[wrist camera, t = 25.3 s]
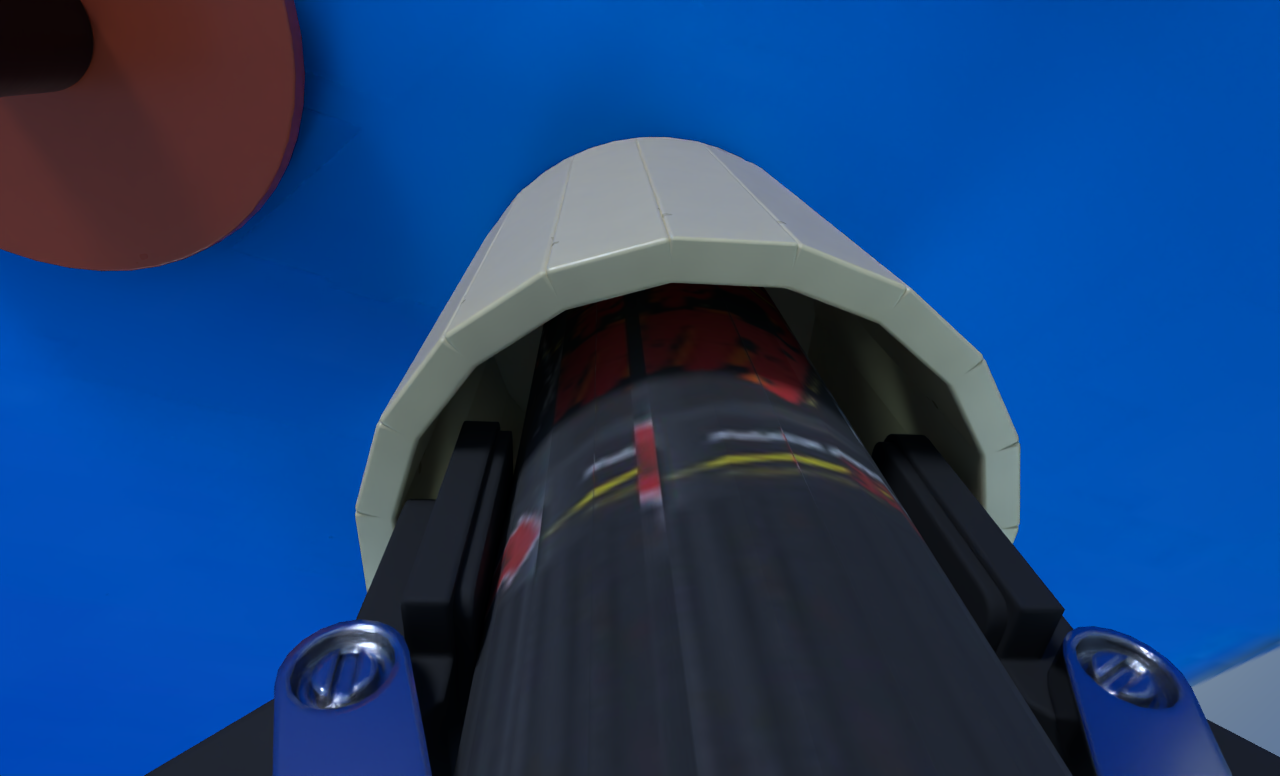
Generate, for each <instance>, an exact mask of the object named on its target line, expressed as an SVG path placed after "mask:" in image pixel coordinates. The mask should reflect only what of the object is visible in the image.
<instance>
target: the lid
mask: <svg viewBox="0 0 1280 776" xmlns="http://www.w3.org/2000/svg"><path fill="white" fill-rule="evenodd" d="M304 79H305V71H304V59H303V47H302V37H301V32H300V27H299V22H298V17H297V12H296V8H295V3H294V0H0V249H2V250H5V251H8V252H11V253H14V254H17V255H20V256H23V257H27V258H30V259H33V260H36V261H40V262H45V263H50V264H54V265H59V266H64V267H68V268H77V269H87V270H97V271H127V270H138V269H144V268H151V267H158V266H162V265H165V264H169V263H172V262H176V261H179V260H182V259H186V258H188V257H190V256H192V255H194V254H196V253H199V252H201V251H203V250H205V249H207V248H209V247H211V246H213V245H215V244H217V243H219V242H221V241H222V240H223V239H225V238H226V237H228V236H229V235H231V234H232V233H234V232H235V231H237V230H238V229H240V228H241V227H242V226H243V225H244V224H245V223H246V222H247V221H248V220H250V219H251V218H252V217H253V216H254V215H255V214H256V213H257V212H258V211H259V210H260V209H261V208H262V206H263V205H264V204H265V202H266V201H267V200H268V198H269V197H270V196H271V194H272V193H273V192H274V190H275V189H276V187H277V185H278V183H279V181H280V180H281V178H282V176H283V174H284V172H285V170H286V168H287V166H288V164H289V161H290V158H291V155H292V152H293V149H294V147H295V144H296V141H297V138H298V133H299V128H300V122H301V116H302V111H303V103H304Z"/></svg>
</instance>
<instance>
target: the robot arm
mask: <svg viewBox="0 0 1280 776" xmlns="http://www.w3.org/2000/svg"><path fill="white" fill-rule="evenodd" d="M871 457H872V459H873V460H874V462H875V464H876V465H877V467H878V468H879V470H880V472H881V473H882V475H883V476H884V478H885V479H886V481H887V483H888V484H889V486H890V487H891V489H892V491H893V492H894V494H895V495H896V497H897V498H898V500H899V502H900V503H901V505H902V506H903V508H904V510H905V511H906V513H907V514H908V516H909V517H910V519H911V521H912V522H913V524H914V525H915V527H916V529H917V530H918V532H919V533H920V535H921V536H922V538H923V540H924V541H925V543H926V544H927V546H928V548H929V549H930V551H931V552H932V554H933V555H934V557H935V559H936V560H937V562H938V563H939V565H940V567H941V568H942V570H943V571H944V573H945V574H946V576H947V578H948V579H949V581H950V582H951V584H952V586H953V587H954V589H955V590H956V592H957V593H958V595H959V597H960V598H961V600H962V601H963V603H964V605H965V606H966V608H967V609H968V611H969V612H970V614H971V616H972V617H973V619H974V620H975V622H976V624H977V625H978V627H979V628H980V630H981V631H982V633H983V635H984V636H985V638H986V639H987V641H988V643H989V644H990V646H991V647H992V649H993V650H994V652H995V654H996V655H997V657H998V658H999V660H1000V662H1001V663H1002V665H1003V666H1004V668H1005V669H1006V671H1007V673H1008V674H1009V676H1010V677H1011V679H1012V681H1013V682H1014V684H1015V685H1016V687H1017V688H1018V690H1019V692H1020V693H1021V695H1022V696H1023V698H1024V700H1025V701H1026V703H1027V704H1028V706H1029V707H1030V709H1031V711H1032V712H1033V714H1034V715H1035V717H1036V719H1037V720H1038V722H1039V723H1040V725H1041V726H1042V728H1043V730H1044V731H1045V733H1046V734H1047V736H1048V738H1049V739H1050V741H1051V742H1052V744H1053V745H1054V747H1055V749H1056V750H1057V752H1058V753H1059V755H1060V757H1061V758H1062V760H1063V761H1064V763H1065V764H1066V766H1067V768H1068V769H1069V771H1070V772H1071V774H1072V776H1280V757H1278V756H1276V755H1275V754H1273V753H1271V752H1268V751H1267V750H1265V749H1263V748H1261V747H1259V746H1257V745H1255V744H1253V743H1252V742H1250V741H1248V740H1246V739H1244V738H1242V737H1240V736H1238V735H1236V734H1234V733H1232V732H1230V731H1228V730H1227V729H1224V728H1223V727H1220V726H1219V725H1217V724H1215V723H1213V722H1211V721H1209V720H1207V719H1206V718H1205V716H1204V713H1203V711H1202V709H1201V707H1200V705H1199V703H1198V700H1197V698H1196V696H1195V694H1194V692H1193V690H1192V688H1191V686H1190V685H1189V683H1188V682H1187V680H1186V679H1185V677H1184V676H1183V674H1182V673H1181V672H1180V671H1179V670H1178V669H1177V668H1176V667H1175V666H1174V665H1173V664H1172V663H1171V662H1170V661H1169V660H1168V659H1167V658H1166V657H1164V656H1163V655H1161V654H1160V653H1159V652H1157V651H1156V650H1154V649H1153V648H1152V647H1150V646H1148V645H1147V644H1145V643H1143V642H1141V641H1139V640H1137V639H1135V638H1133V637H1131V636H1129V635H1126V634H1123V633H1120V632H1117V631H1114V630H1112V629H1106V628H1100V627H1094V626H1091V627H1078V628H1076V629H1074V630H1073V628H1072V627H1071V626H1070V625H1069V623H1068V622H1067V621H1066V620H1065V618H1064V617H1063V616H1062V614H1063V612H1064V610H1065V609H1064V608H1063V607H1062V605H1061V604H1060V603H1059V602H1058V600H1057V599H1056V598H1055V597H1054V595H1053V594H1052V593H1051V592H1050V590H1049V589H1048V588H1047V587H1046V585H1045V584H1044V583H1043V582H1042V580H1041V579H1040V578H1039V577H1038V575H1037V574H1036V573H1035V572H1034V570H1033V569H1032V568H1031V567H1030V565H1029V564H1028V563H1027V562H1026V560H1025V559H1024V558H1023V557H1022V555H1021V554H1020V553H1019V552H1018V550H1017V549H1016V548H1015V547H1014V545H1013V544H1012V543H1011V542H1010V540H1009V539H1008V538H1007V536H1006V535H1005V534H1004V533H1003V531H1002V530H1001V529H1000V528H999V526H998V525H997V524H996V523H995V521H994V520H993V519H992V518H991V516H990V515H989V514H988V513H987V511H986V510H985V509H984V508H983V506H982V505H981V504H980V503H979V501H978V500H977V499H976V498H975V496H974V495H973V494H972V493H971V491H970V490H969V489H968V488H967V486H966V485H965V484H964V483H963V481H962V480H961V479H960V478H959V476H958V475H957V474H956V473H955V471H954V470H953V469H952V468H951V466H950V465H949V464H948V463H947V461H946V460H945V459H944V458H943V456H942V455H941V454H940V453H939V451H938V450H937V449H936V448H935V446H934V445H933V444H932V443H931V441H930V440H929V439H928V438H927V437H926V436H925V435H915V434H889V435H888V436H887V437H886V438H885V440H884V442H878V443H876V445H875V446H874V449H873V452H872V456H871ZM512 480H513V439H512V431H500V424H499V422H490V421H464V423H463V425H462V428H461V431H460V433H459V436H458V439H457V442H456V445H455V448H454V450H453V453H452V456H451V459H450V462H449V465H448V467H447V470H446V473H445V476H444V479H443V481H442V484H441V487H440V490H439V493H438V496H437V498H436V499H409V500H407V501H406V503H405V505H404V506H403V508H402V511H401V513H400V516H399V518H398V520H397V523H396V525H395V528H394V530H393V532H392V535H391V537H390V540H389V542H388V544H387V547H386V549H385V552H384V554H383V556H382V559H381V561H380V564H379V566H378V568H377V571H376V573H375V576H374V578H373V580H372V583H371V585H370V587H369V590H368V592H367V595H366V597H365V599H364V602H363V604H362V607H361V609H360V611H359V614H358V616H357V619H356V620H352V621H345V622H340V623H337V624H334V625H331V626H328V627H326V628H323V629H320V630H319V631H317V632H315V633H314V634H312V635H310V636H309V637H307V638H305V639H304V640H302V641H301V642H300V643H299V644H298V645H297V646H296V647H295V648H294V649H293V650H292V651H291V652H290V653H289V654H288V655H287V657H286V658H285V660H284V661H283V663H282V664H281V666H280V668H279V669H278V673H277V677H276V682H275V687H274V699H273V700H271V701H269V702H268V703H266V704H264V705H263V706H261V707H259V708H257V709H256V710H254V711H252V712H251V713H249V714H247V715H246V716H244V717H242V718H241V719H239V720H237V721H236V722H234V723H232V724H230V725H229V726H227V727H225V728H224V729H222V730H220V731H219V732H217V733H215V734H214V735H212V736H210V737H208V738H207V739H205V740H203V741H202V742H200V743H198V744H197V745H195V746H193V747H192V748H190V749H188V750H187V751H185V752H183V753H181V754H180V755H178V756H176V757H175V758H173V759H171V760H170V761H168V762H166V763H165V764H163V765H161V766H160V767H158V768H156V769H154V770H153V771H151V772H149V773H148V774H146V775H144V776H454V771H455V766H456V761H457V756H458V751H459V746H460V741H461V736H462V731H463V726H464V721H465V716H466V711H467V706H468V701H469V695H470V690H471V685H472V680H473V675H474V670H475V665H476V660H477V655H478V650H479V645H480V640H481V635H482V630H483V625H484V620H485V615H486V610H487V605H488V600H489V595H490V590H491V585H492V580H493V575H494V570H495V565H496V560H497V555H498V550H499V545H500V540H501V535H502V530H503V525H504V520H505V515H506V510H507V505H508V500H509V495H510V490H511V485H512Z"/></svg>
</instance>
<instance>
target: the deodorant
mask: <svg viewBox="0 0 1280 776" xmlns="http://www.w3.org/2000/svg"><path fill="white" fill-rule="evenodd" d="M454 776H1072V774H1071V772H1070V771H1069V769H1068V768H1067V766H1066V764H1065V763H1064V761H1063V760H1062V758H1061V757H1060V755H1059V753H1058V752H1057V750H1056V749H1055V747H1054V745H1053V744H1052V742H1051V741H1050V739H1049V738H1048V736H1047V734H1046V733H1045V731H1044V730H1043V728H1042V726H1041V725H1040V723H1039V722H1038V720H1037V719H1036V717H1035V715H1034V714H1033V712H1032V711H1031V709H1030V707H1029V706H1028V704H1027V703H1026V701H1025V700H1024V698H1023V696H1022V695H1021V693H1020V692H1019V690H1018V688H1017V687H1016V685H1015V684H1014V682H1013V681H1012V679H1011V677H1010V676H1009V674H1008V673H1007V671H1006V669H1005V668H1004V666H1003V665H1002V663H1001V662H1000V660H999V658H998V657H997V655H996V654H995V652H994V650H993V649H992V647H991V646H990V644H989V643H988V641H987V639H986V638H985V636H984V635H983V633H982V631H981V630H980V628H979V627H978V625H977V624H976V622H975V620H974V619H973V617H972V616H971V614H970V612H969V611H968V609H967V608H966V606H965V605H964V603H963V601H962V600H961V598H960V597H959V595H958V593H957V592H956V590H955V589H954V587H953V586H952V584H951V582H950V581H949V579H948V578H947V576H946V574H945V573H944V571H943V570H942V568H941V567H940V565H939V563H938V562H937V560H936V559H935V557H934V555H933V554H932V552H931V551H930V549H929V548H928V546H927V544H926V543H925V541H924V540H923V538H922V536H921V535H920V533H919V532H918V530H917V529H916V527H915V525H914V524H913V522H912V521H911V519H910V517H909V516H908V514H907V513H906V511H905V510H904V508H903V506H902V505H901V503H900V502H899V500H898V498H897V497H896V495H895V494H894V492H893V491H892V489H891V487H890V486H889V484H888V483H887V481H886V479H885V478H884V476H883V475H882V473H881V472H880V470H879V468H878V467H877V465H876V464H875V462H874V460H873V459H872V457H871V456H870V454H869V453H868V451H867V449H866V448H865V446H864V445H863V443H862V441H861V440H860V438H859V437H858V435H857V434H856V432H855V430H854V429H853V427H852V426H851V424H850V422H849V421H848V419H847V418H846V416H845V415H844V413H843V411H842V410H841V408H840V407H839V405H838V403H837V402H836V400H835V399H834V397H833V396H832V394H831V392H830V391H829V389H828V388H827V386H826V384H825V383H824V381H823V380H822V378H821V377H820V375H819V373H818V372H817V370H816V369H815V367H814V365H813V364H812V362H811V361H810V359H809V358H808V356H807V354H806V353H805V351H804V350H803V348H802V346H801V345H800V343H799V342H798V340H797V339H796V337H795V335H794V334H793V332H792V331H791V329H790V327H789V326H788V324H787V323H786V321H785V320H784V318H783V316H782V315H781V313H780V312H779V310H778V308H777V307H776V305H775V304H774V302H773V301H772V299H771V297H770V296H769V294H768V293H767V291H766V289H765V288H764V287H755V286H733V285H712V284H690V283H668V284H664V285H661V286H657V287H653V288H649V289H645V290H641V291H638V292H634V293H630V294H626V295H622V296H618V297H614V298H611V299H607V300H603V301H599V302H595V303H591V304H588V305H584V306H580V307H576V308H572V309H568V310H565V311H564V312H562V313H560V314H559V315H557V316H556V317H554V318H552V319H551V320H549V321H548V322H546V323H545V324H543V329H542V334H541V339H540V344H539V349H538V354H537V359H536V364H535V369H534V374H533V379H532V384H531V389H530V394H529V399H528V404H527V410H526V415H525V420H524V425H523V430H522V435H521V440H520V445H519V450H518V455H517V460H516V465H515V470H514V475H513V480H512V485H511V490H510V495H509V500H508V505H507V510H506V515H505V520H504V525H503V530H502V535H501V540H500V545H499V550H498V555H497V560H496V565H495V570H494V575H493V580H492V585H491V590H490V595H489V600H488V605H487V610H486V615H485V620H484V625H483V630H482V635H481V640H480V645H479V650H478V655H477V660H476V665H475V670H474V675H473V680H472V685H471V690H470V695H469V701H468V706H467V711H466V716H465V721H464V726H463V731H462V736H461V741H460V746H459V751H458V756H457V761H456V766H455V771H454Z"/></svg>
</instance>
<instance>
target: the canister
mask: <svg viewBox="0 0 1280 776" xmlns="http://www.w3.org/2000/svg"><path fill="white" fill-rule="evenodd" d="M668 283H690V284H712V285H733V286H755V287H764V288H765V289H766V291H767V293H768V294H769V296H770V297H771V299H772V301H773V302H774V304H775V305H776V307H777V308H778V310H779V312H780V313H781V315H782V316H783V318H784V320H785V321H786V323H787V324H788V326H789V327H790V329H791V331H792V332H793V334H794V335H795V337H796V339H797V340H798V342H799V343H800V345H801V346H802V348H803V350H804V351H805V353H806V354H807V356H808V358H809V359H810V361H811V362H812V364H813V365H814V367H815V369H816V370H817V372H818V373H819V375H820V377H821V378H822V380H823V381H824V383H825V384H826V386H827V388H828V389H829V391H830V392H831V394H832V396H833V397H834V399H835V400H836V402H837V403H838V405H839V407H840V408H841V410H842V411H843V413H844V415H845V416H846V418H847V419H848V421H849V422H850V424H851V426H852V427H853V429H854V430H855V432H856V434H857V435H858V437H859V438H860V440H861V441H862V443H863V445H864V446H865V448H866V449H867V451H868V453H869V454H870V456H872V452H873V449H874V446H875V445H876V443H878V442H884V440H885V438H886V437H887V436H888V435H889V434H915V435H925V436H926V437H927V438H928V439H929V440H930V441H931V443H932V444H933V445H934V446H935V448H936V449H937V450H938V451H939V453H940V454H941V455H942V456H943V458H944V459H945V460H946V461H947V463H948V464H949V465H950V466H951V468H952V469H953V470H954V471H955V473H956V474H957V475H958V476H959V478H960V479H961V480H962V481H963V483H964V484H965V485H966V486H967V488H968V489H969V490H970V491H971V493H972V494H973V495H974V496H975V498H976V499H977V500H978V501H979V503H980V504H981V505H982V506H983V508H984V509H985V510H986V511H987V513H988V514H989V515H990V516H991V518H992V519H993V520H994V521H995V523H996V524H997V525H998V526H999V528H1000V529H1001V530H1002V531H1003V533H1004V534H1005V535H1006V536H1007V538H1008V539H1009V540H1010V542H1011V543H1012V544H1013V542H1014V539H1015V537H1016V534H1017V532H1018V525H1019V523H1020V443H1019V442H1018V441H1019V438H1018V435H1017V432H1016V430H1015V428H1014V425H1013V423H1012V421H1011V418H1010V416H1009V414H1008V411H1007V409H1006V407H1005V404H1004V402H1003V400H1002V398H1001V395H1000V393H999V391H998V388H997V386H996V384H995V381H994V379H993V377H992V374H991V372H990V370H989V367H988V365H987V363H986V361H985V360H984V359H983V356H982V354H981V353H980V352H979V351H978V350H977V349H976V348H974V347H973V346H972V345H971V344H970V343H969V342H968V341H967V340H966V339H965V338H964V337H963V336H962V335H961V334H960V333H958V332H957V331H956V330H955V329H954V328H953V327H952V326H951V325H950V324H949V323H948V322H947V321H946V320H945V319H943V318H942V317H941V316H940V315H939V314H938V313H937V312H936V311H935V310H934V309H933V308H932V307H931V306H930V305H929V304H927V303H926V302H925V301H924V300H923V299H922V298H921V297H920V296H919V295H918V294H917V293H916V292H915V291H914V290H912V289H911V288H910V287H909V286H908V285H906V284H905V283H904V282H903V281H901V280H900V279H899V278H898V277H896V276H895V275H894V274H893V273H891V272H890V271H889V270H888V269H886V268H885V267H884V266H883V265H881V264H880V263H879V262H878V261H876V260H875V259H874V258H873V257H871V256H870V255H869V254H868V253H867V252H865V251H864V250H863V249H862V248H860V247H859V246H858V245H857V244H855V243H854V242H853V241H852V240H850V239H849V238H848V237H847V236H845V235H844V234H843V233H842V232H840V231H839V230H838V229H837V228H835V227H834V226H833V225H832V224H830V223H829V222H828V221H827V220H825V219H824V218H823V217H822V216H820V215H819V214H818V213H817V212H815V211H814V210H813V209H812V208H810V207H809V206H808V205H807V204H805V203H804V202H803V201H802V200H800V199H799V198H798V197H797V196H795V195H794V194H793V193H792V192H790V191H789V190H788V189H787V188H785V187H784V186H783V185H782V184H780V183H779V182H778V181H777V180H775V179H774V178H773V177H772V176H770V175H769V174H768V173H767V172H765V171H764V170H763V169H762V168H760V167H758V166H757V165H755V164H752V163H750V162H748V161H745V160H744V159H742V158H740V157H738V156H736V155H733V154H731V153H729V152H727V151H724V150H722V149H720V148H717V147H714V146H710V145H707V144H705V143H700V142H697V141H692V140H684V139H677V138H669V137H640V138H633V139H626V140H619V141H613V142H610V143H607V144H603V145H600V146H596V147H593V148H589V149H587V150H585V151H583V152H580V153H578V154H576V155H574V156H571V157H569V158H567V159H565V160H563V161H562V162H560V163H558V164H557V165H555V166H554V167H552V168H550V169H549V170H547V171H546V172H544V173H543V174H541V175H540V176H539V177H538V178H537V179H535V180H534V181H533V182H532V183H531V184H530V185H528V186H527V187H526V188H524V189H523V190H522V191H521V193H519V194H518V195H517V196H516V197H515V199H514V200H513V201H512V203H511V204H510V205H509V206H508V207H507V209H506V210H505V212H504V213H503V215H502V216H501V218H500V219H499V220H498V222H497V223H496V225H495V226H494V227H493V229H492V230H491V231H490V233H489V234H488V235H487V237H486V238H485V240H484V241H483V243H482V245H481V247H480V248H479V250H478V252H477V253H476V255H475V257H474V258H473V260H472V262H471V264H470V265H469V267H468V269H467V270H466V272H465V274H464V275H463V277H462V279H461V281H460V282H459V284H458V286H457V287H456V289H455V291H454V293H453V294H452V296H451V298H450V299H449V301H448V303H447V304H446V306H445V308H444V310H443V311H442V313H441V315H440V316H439V318H438V320H437V321H436V323H435V325H434V327H433V328H432V330H431V332H430V333H429V335H428V337H427V339H426V340H425V342H424V344H423V345H422V347H421V349H420V350H419V352H418V354H417V356H416V357H415V359H414V361H413V362H412V364H411V366H410V367H409V369H408V371H407V373H406V374H405V376H404V378H403V379H402V381H401V383H400V385H399V386H398V388H397V390H396V391H395V393H394V395H393V396H392V398H391V400H390V402H389V403H388V405H387V407H386V408H385V410H384V412H383V413H382V415H381V418H380V420H379V422H378V423H377V426H376V429H375V433H374V437H373V441H372V445H371V449H370V452H369V456H368V460H367V464H366V468H365V472H364V475H363V479H362V483H361V487H360V491H359V495H358V498H357V502H356V506H355V507H356V513H355V517H356V524H357V530H358V537H359V543H360V550H361V556H362V563H363V569H364V576H365V582H366V589H367V592H368V590H369V587H370V585H371V583H372V580H373V578H374V576H375V573H376V571H377V568H378V566H379V564H380V561H381V559H382V556H383V554H384V552H385V549H386V547H387V544H388V542H389V540H390V537H391V535H392V532H393V530H394V528H395V525H396V523H397V520H398V518H399V516H400V513H401V511H402V508H403V506H404V505H405V503H406V501H407V500H409V499H436V498H437V496H438V493H439V490H440V487H441V484H442V481H443V479H444V476H445V473H446V470H447V467H448V465H449V462H450V459H451V456H452V453H453V450H454V448H455V445H456V442H457V439H458V436H459V433H460V431H461V428H462V425H463V423H464V421H490V422H499V424H500V431H512V439H513V475H514V470H515V465H516V460H517V455H518V450H519V445H520V440H521V435H522V430H523V425H524V420H525V415H526V410H527V404H528V399H529V394H530V389H531V384H532V379H533V374H534V369H535V364H536V359H537V354H538V349H539V344H540V339H541V334H542V329H543V324H545V323H546V322H548V321H549V320H551V319H552V318H554V317H556V316H557V315H559V314H560V313H562V312H564V311H565V310H568V309H572V308H576V307H580V306H584V305H588V304H591V303H595V302H599V301H603V300H607V299H611V298H614V297H618V296H622V295H626V294H630V293H634V292H638V291H641V290H645V289H649V288H653V287H657V286H661V285H664V284H668Z"/></svg>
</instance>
